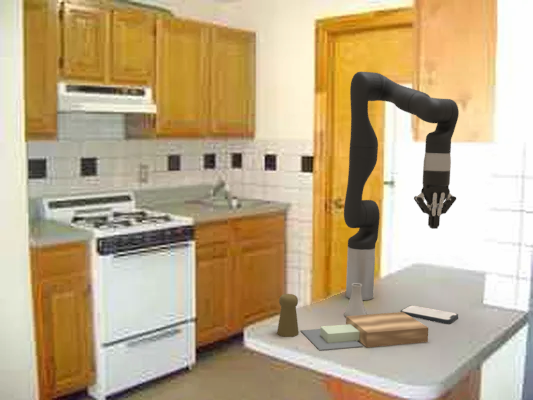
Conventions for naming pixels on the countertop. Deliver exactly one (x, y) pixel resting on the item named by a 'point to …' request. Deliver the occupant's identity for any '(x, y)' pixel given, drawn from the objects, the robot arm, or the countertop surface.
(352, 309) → the flask
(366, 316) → the board
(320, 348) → the mat
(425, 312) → the phone case
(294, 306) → the pepper mill
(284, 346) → the countertop surface
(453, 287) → the countertop surface
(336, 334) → the block
